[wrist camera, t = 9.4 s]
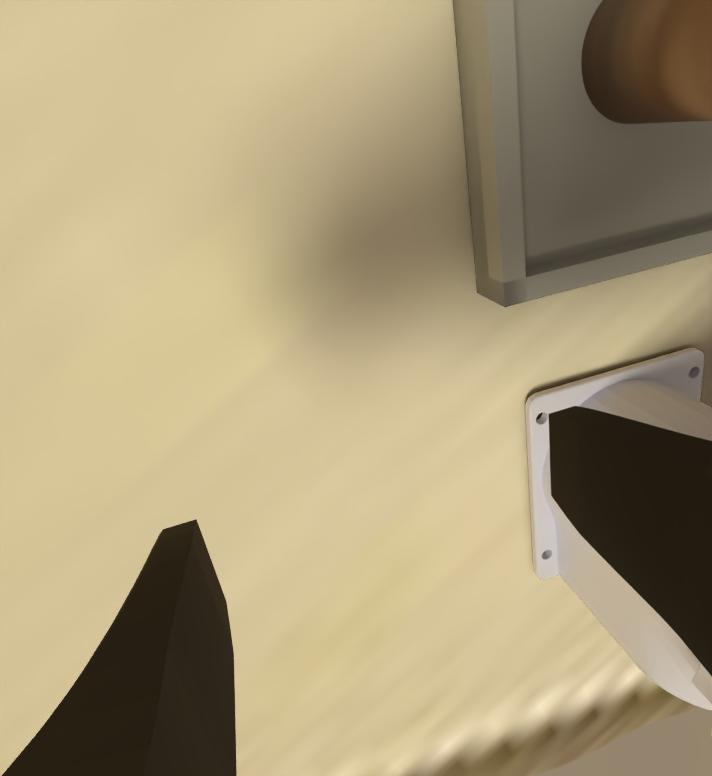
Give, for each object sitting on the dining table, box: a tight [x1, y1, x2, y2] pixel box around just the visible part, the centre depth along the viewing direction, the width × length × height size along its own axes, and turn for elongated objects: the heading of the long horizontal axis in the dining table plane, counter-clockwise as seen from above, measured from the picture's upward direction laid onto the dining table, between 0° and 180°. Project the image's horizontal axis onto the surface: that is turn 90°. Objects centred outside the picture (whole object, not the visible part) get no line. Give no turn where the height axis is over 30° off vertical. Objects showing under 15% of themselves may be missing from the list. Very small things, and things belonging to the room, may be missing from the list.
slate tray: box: [453, 0, 712, 307], centre depth 18 cm, size 13×11×2 cm
